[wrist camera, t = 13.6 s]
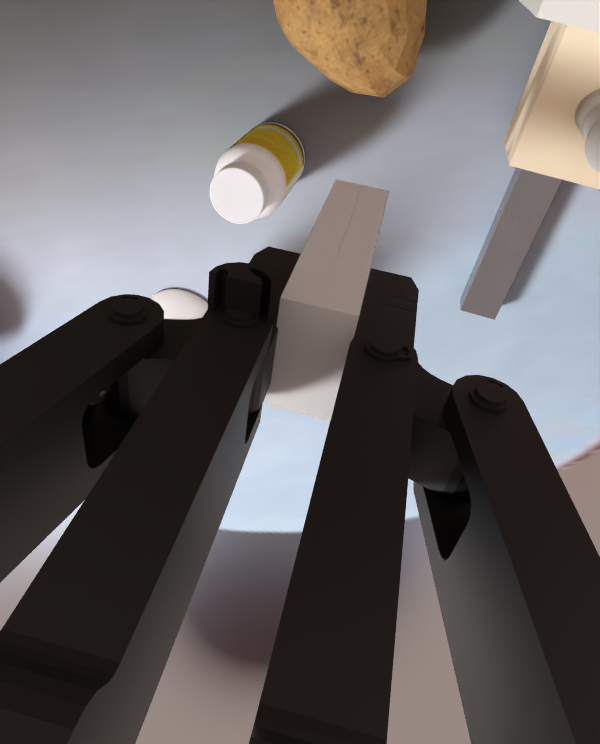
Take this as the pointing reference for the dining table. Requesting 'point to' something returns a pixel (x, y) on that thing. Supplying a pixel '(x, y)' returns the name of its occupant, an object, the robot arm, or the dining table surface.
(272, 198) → the supplement bottle
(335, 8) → the potato
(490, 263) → the rail track
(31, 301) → the dining table surface
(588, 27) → the end cabinet
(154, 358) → the robot arm
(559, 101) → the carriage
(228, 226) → the dining table surface
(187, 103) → the dining table surface
